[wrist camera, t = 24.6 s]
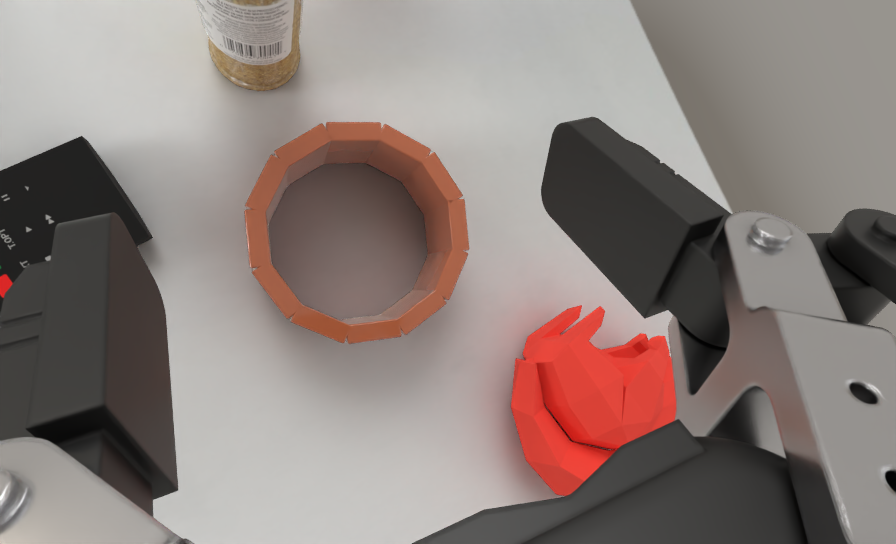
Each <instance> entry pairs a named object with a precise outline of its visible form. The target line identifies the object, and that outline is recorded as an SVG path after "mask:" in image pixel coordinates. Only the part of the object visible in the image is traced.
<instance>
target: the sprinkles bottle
mask: <svg viewBox="0 0 896 544" xmlns="http://www.w3.org/2000/svg"><path fill="white" fill-rule="evenodd" d="M196 4H197V7H198V10H199V13H200V17H201V20H202V23H203V26H204V29H205V31H206V33H207V35H208V38H209V50H210V54H211V57H212V60H213V62H214V63H215V65H216V66H217V68H218V69H219V71H220V72H221V73H222V74H223V75H224V76H225V77H226V78H227V79H229V80H230V81H231V82H233V83H235V84H236V85H238V86H240V87H244V88H246V89H250V90H257V91H265V90H272V89H275V88H278V87H279V86H281V85H283V84H284V83H286V82H288V80H289V79H290V78H291V77H292V76H293V75H294V74H295V72H296V70H297V68H298V64H299V60H300V52H299V51H300V50H299V42H298V41H299V34H300V32H301V23H302V8H303V0H196Z"/></svg>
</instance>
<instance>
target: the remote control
mask: <svg viewBox="0 0 896 544" xmlns="http://www.w3.org/2000/svg"><path fill="white" fill-rule="evenodd" d="M108 213H116V214H117V215H118V216H119V217H120V218H121V220H122V221H123V223H124V224H125V226H126V228H127V230H128V232H129V234H130V235H131V237H132V239H133V241H134V243H135V245H136V246H138V245H140V244H142V243H144V242H146V241H148V240H149V239H151V238H153V237H152V235H151V234H150V232H149V230H148V229H147V227H146V225H145V223H144V222H143V220H142V218H141V217H140V215H139V213H138V212H137V210H136V209H135V207H134V206H133V204H132V203H131V201H130V200H129V198H128V197H127V195H126V194H125V192H124V191H123V189H122V188H121V186H120V185H119V183H118V182H117V180H116V179H115V178H114V176H113V175H112V173H111V172H110V170H109V169H108V167H107V166H106V165H105V163H104V162H103V161H102V159H101V158H100V157H99V155H98V154H97V153H96V151H95V150H94V149H93V147H92V146H91V145H90V143H89V142H88V141H87V140H86V139H85V138H84V137H82V136H81V137H78V138H76V139H74V140H71V141H69V142H67V143H64V144H62V145H60V146H57V147H55V148H53V149H50V150H48V151H46V152H43V153H41V154H39V155H36V156H34V157H32V158H29V159H27V160H25V161H23V162H20V163H18V164H16V165H13V166H11V167H9V168H6V169H4V170H2V171H0V313H1V308H2V304H3V299H4V295H5V293H6V292H7V290H8V289H9V288H10V287H11V285H12V284H13V283H14V282H15V280H16V279H17V278H18V276H19V275H20V274H21V273H22V271H23V270H24V269H25V268H26V266H27V265H31V264H36V263H40V262H45V261H49V260H50V259H51V253H52V246H53V239H54V233H55V228H56V226H57V224H59V223H64V222H68V221H73V220H78V219H83V218H88V217H93V216H98V215H103V214H108Z"/></svg>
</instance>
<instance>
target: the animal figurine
mask: <svg viewBox="0 0 896 544" xmlns="http://www.w3.org/2000/svg"><path fill="white" fill-rule="evenodd" d="M581 308H582V305H581V306H577V307H573V308H569V309H567V310H565V311H564V312H562V313H561V314H560V315H558V316H557V317H555V318H554V319H552V320H551V321H550V322H548V323H547V324H545V325H544V326H542V327H541V328H540V329H538V330H537V331H535V332H534V333H532V334H531V335H530V336H528V338H527V341H526V344H525V348H524V351H523V356H524V358H525V360H521V359H517V358H516V360H515V370H514V381H513V391H512V402H511V409H512V413H513V416H514V420H515V423H516V427H517V430H518V434H519V437H520V441H521V444H522V448H523V451H524V455H525V458H526V461H527V462H528V463H529V464H530V465H531V466H532V468H533V469H534V470H535V471H536V472H537V473H538V474H539V476H540V477H541V478H542V479H543V480H544V481H545V482H546V484H547V485H548V486H549V487H550V488H551V489H552V490H553V491H554V493H555V494H557V495H563V496H567V495H569V494H571V493H572V492H574V491H575V490H576V489H577V488H578V487H579V486H580V485H581V484H582V483H583V482H584V481H585V480H586V479H587V478H588V477H589V476H590V475H591V474H593V473H594V472H595V471H596V470H597V469H598V468H599V467H600V466H601V465H602V464H603V463H604V462H605V461H606V460H607V459H608V458H609V457H610V456H611V455H612V454H613V453H614V452H615V451H616V450H617V449H618V448H619V447H621V446H622V445H624V444H626V443H628V442H630V441H632V440H634V439H636V438H639V437H641V436H643V435H645V434H647V433H649V432H651V431H654V430H656V429H658V428H660V427H662V426H664V425H666V424H668V423H671V422H673V421H674V419H675V414H676V397H675V388H674V378H673V369H672V360H671V357H670V356H669V349H668V346H667V342H666V339H665V336H656V337H652V338H651V339H650V340H649V341H648V338H647V336H646V334H639V335H638V336H636V337H635V338H633V339H632V340H631V341H629V342H628V343H627V344H625V345H622V346H617V347H613V348H608V349H603V350H600V349H598V348H596V347H594V346H593V345H592V344H591V343H590V342H589V340H590V338H591V337H592V336H593V335H594V333H595V332H596V331H597V330H598V328H599V327H600V326H601V324H602V321H603V317H604V313H605V311H604V310H603V308H602V307H601V306H600V307H598V308H597V309H596V310H594V311H593V312H592V313H590V314H589V315H588V316H586V317H585V318H584V319H583V320H581V321H580V322H579V323H577V324H576V325H575V326H573V327H572V328H571V329H569V330H568V331H567V332H565V333H564V334H563V335H561V334H560V333H561V332H563V331H564V330H565V329H566V328H567V327H569V326H570V325H571V324H572V323H573V322H575V321H576V320H577V319H578V318H579V316H580V312H581ZM544 403H545V405H546V407H547V408H548V409H549V411H550V412H551V413H552V415H553V416H554V417H555V418H556V420H557V421H558V422H559V424H560V425H561V426H562V428H563V429H564V430H565V432H566V433H567V434H568V436H569V437H570V438H571V440H572V441H575V442H580V443H585V444H589V445H594V446H599V447H603V448H608V449H616V450H604V449H600V448H596V447H592V446H588V445H584V444H579V443H575V442H571V441H570V440H569V438H568V437H567V436H566V434H565V433H564V432H563V430H562V429H561V428H560V426H559V425H558V424H557V422H556V421H555V420H554V418H553V417H552V416H551V414H550V413H549V412H548V410H547V409H546V408H545V405H544Z"/></svg>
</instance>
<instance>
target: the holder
mask: <svg viewBox="0 0 896 544" xmlns="http://www.w3.org/2000/svg"><path fill="white" fill-rule="evenodd" d="M430 151H431V149H429V148H428V147H426V146H424V145H422V144H420V143H419V142H417V141H415V140H413V139H411V138H410V137H408V136H406V135H404V134H402V133H401V132H399V131H397V130H395V129H393V128H392V127H390V126H388V125H386V124H384V125H383V127H382V129H381V123H379V122H327V123H326V126H324V125H323V124H322V123H321V124H320V125H318V126H316V127H314V128H313V129H311V130H309V131H308V132H306V133H304V134H303V135H301V136H299V137H297V138H296V139H294V140H292V141H291V142H289V143H287V144H286V145H284V146H282V147H280V148H279V149H277V150H275V151H274V156H273V155H270V157H269V159H268V161H267V163H266V165H265V167H264V169H263V171H262V173H261V175H260V177H259V179H258V181H257V183H256V185H255V187H254V189H253V191H252V192H251V194H250V196H249V198H248V200H247V202H246V204H245V206H246V208H247V210H245V211H244V214H245V224H246V234H247V245H248V255H249V265H250V268H252V269H253V270H254V271H253V272H252V274H253V275H254V276H255V278H256V279H257V280H258V282H259V283H260V284H261V286H262V287H263V288H264V290H265V291H266V292H267V294H268V295H269V296H270V297H271V299H272V300H273V301H274V303H275V304H276V305H277V307H278V308H279V309H280V311H281V312H282V313H283V315H284V316H285V317H286V318H287V319H288V318H290V320H291V322H292V323H294V324H297V325H299V326H302V327H304V328H307V329H309V330H311V331H314V332H316V333H319V334H321V335H324V336H326V337H328V338H331V339H333V340H336V341H338V342H341V343H344V342H345V341H346V342H347V343H348V344H352V343H360V342H367V341H374V340H382V339H389V338H396V337H401V335H402V334H405V335H407V334H408V333H409V332H410V331H412V330H413V329H414V328H416V327H417V326H418V325H419V324H421V323H422V322H423V321H425V320H426V319H427V318H428V317H430V316H431V315H432V314H434V313H435V312H436V311H438V310H439V309H440V308H441V307H443V306H444V305H445V304H446V301H445V300H449V299H450V296H451V294H452V292H453V289H454V287H455V285H456V282H457V280H458V277H459V275H460V273H461V270H462V268H463V266H464V263H465V261H466V258H467V256H468V253H467V252H465V251H466V250H469V242H468V232H467V222H466V211H465V201H464V199H459V198H460V197H462V196H463V195H462V193H461V192H460V190H459V189H458V187H457V186H456V184H455V183H454V181H453V179H452V178H451V176H450V175H449V173H448V172H447V170H446V169H445V167H444V166H443V164H442V163H441V161H440V160H439V158H438V157H437V155H436V154H435V152H433V153H432V154H430ZM429 154H430V155H429ZM336 163H367V164H368V165H370V166H372V167H374V168H376V169H378V170H380V171H382V172H384V173H386V174H388V175H389V176H391V177H393V178H395V179H397V180H399V181H401V182H402V184H403V185H404V187H405V188H406V190H407V191H408V192H409V194H410V195H411V197H412V198H413V200H414V201H415V203H416V204H417V206H418V207H419V209H420V210H421V212H422V213H423V215H424V221H425V231H426V241H427V251H428V256H427V258H426V260H425V262H424V265H423V267H422V269H421V272H420V274H419V276H418V279H417V281H416V283H415V285H414V288H413V290H412V291H411V292H409V293H408V294H407V295H405V296H404V297H403V298H401V299H400V300H399V301H397V302H396V303H395V304H393V305H392V306H391V307H389V308H388V309H387V310H385V311H384V312H383V313H381V314H380V315H372V316H364V317H355V318H347V319H336V318H334V317H332V316H329V315H327V314H325V313H322V312H320V311H317V310H315V309H313V308H310V307H308V306H306V305H303V304H301V303H300V301H299V300H298V299H297V297H296V296H295V295H294V293H293V292H292V291H291V289H290V288H289V287H288V285H287V284H286V283H285V281H284V280H283V279H282V277H281V276H280V275H279V273H278V272H277V271H276V269H275V268H274V266H273V265H272V256H271V246H270V236H269V226H268V224H269V222H270V220H271V218H272V216H273V214H274V212H275V210H276V208H277V206H278V204H279V202H280V200H281V198H282V196H283V194H284V192H285V190H286V188H287V186H288V185H290V184H292V183H293V182H295V181H296V180H298V179H300V178H301V177H303V176H305V175H306V174H308V173H309V172H311V171H313V170H314V169H316V168H318V167H319V166H321V165H322V164H336Z"/></svg>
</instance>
